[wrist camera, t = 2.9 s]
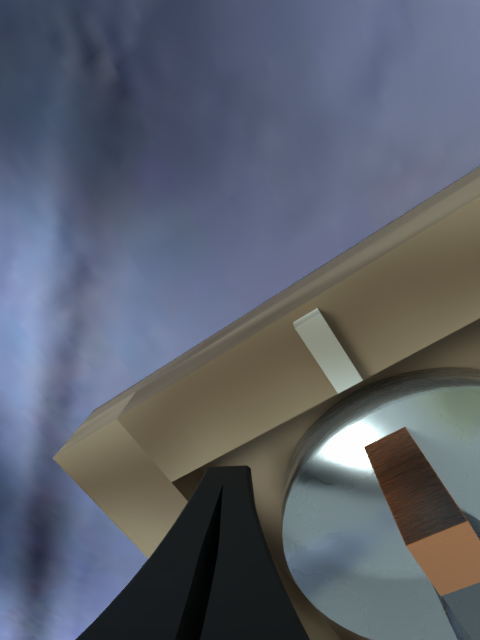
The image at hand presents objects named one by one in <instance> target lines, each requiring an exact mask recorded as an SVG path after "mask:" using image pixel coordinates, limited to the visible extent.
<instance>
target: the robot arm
mask: <svg viewBox="0 0 480 640" xmlns="http://www.w3.org/2000/svg"><path fill="white" fill-rule="evenodd" d="M76 640H310V638H309V637H308V635H307V633H306V631H305V629H304V627H303V625H302V623H301V621H300V619H299V617H298V615H297V613H296V611H295V609H294V607H293V605H292V603H291V601H290V598H289V596H288V594H287V592H286V590H285V588H284V585H283V583H282V581H281V578H280V576H279V574H278V571H277V569H276V566H275V564H274V561H273V559H272V556H271V554H270V551H269V548H268V545H267V543H266V540H265V537H264V534H263V531H262V528H261V525H260V521H259V518H258V514H257V511H256V507H255V499H254V491H253V482H252V474H251V468H250V467H248V466H247V465H243V466H220V467H209V468H208V469H207V470H206V471H205V473H204V475H203V477H202V479H201V480H200V482H199V484H198V486H197V487H196V489H195V491H194V493H193V494H192V496H191V498H190V499H189V501H188V503H187V504H186V506H185V507H184V509H183V510H182V512H181V513H180V515H179V517H178V518H177V520H176V521H175V523H174V524H173V526H172V527H171V529H170V530H169V531H168V533H167V534H166V536H165V537H164V538H163V540H162V541H161V543H160V544H159V545H158V547H157V548H156V550H155V551H154V552H153V554H152V555H151V556H150V558H149V559H148V560H147V561H146V563H145V564H144V565H143V566H142V568H141V569H140V570H139V571H138V573H137V574H136V575H135V576H134V577H133V579H132V580H131V581H130V582H129V583H128V585H127V586H126V587H125V588H124V589H123V590H122V591H121V593H120V594H119V595H118V596H117V597H116V598H115V599H114V600H113V601H112V603H111V604H110V605H109V606H108V607H107V608H106V609H105V610H104V611H103V612H102V613H101V615H100V616H99V617H98V618H97V619H96V620H95V621H94V622H93V623H92V624H91V625H90V626H89V627H88V628H87V629H86V630H85V631H84V632H83V633H82V634H81V635H80V636H79V637H78V638H77V639H76Z"/></svg>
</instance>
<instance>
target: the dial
mask: <svg viewBox="0 0 480 640" xmlns="http://www.w3.org/2000/svg"><path fill="white" fill-rule="evenodd" d="M280 506H281V523H282V539H283V547H284V554H285V558H286V561H287V564H288V567H289V570H290V572H291V574H292V576H293V578H294V580H295V582H296V584H297V585H298V587H299V588H300V589H301V591H302V592H303V594H304V595H305V596H306V597H307V599H308V600H309V601H310V602H311V603H312V604H313V605H314V606H315V607H316V608H317V609H318V610H320V611H321V612H322V613H323V614H325V615H326V616H327V617H328V618H329V619H331V620H333V621H334V622H336V623H337V624H339V625H341V626H342V627H344V628H346V629H348V630H350V631H352V632H354V633H356V634H358V635H360V636H363V637H366V638H369V639H371V640H480V369H473V368H454V367H442V368H431V369H421V370H416V371H411V372H406V373H402V374H397V375H394V376H391V377H388V378H385V379H382V380H379V381H376V382H374V383H372V384H370V385H367V386H365V387H363V388H361V389H359V390H357V391H355V392H353V393H352V394H350V395H348V396H347V397H345V398H343V399H342V400H340V401H338V402H337V403H336V404H335V405H333V406H332V407H331V408H329V409H328V410H327V411H326V412H324V413H323V414H322V415H321V416H320V417H319V418H318V419H317V420H316V421H315V422H314V423H313V424H312V425H311V426H310V427H309V428H308V430H307V431H306V432H305V433H304V435H303V436H302V437H301V439H300V440H299V441H298V443H297V445H296V447H295V448H294V450H293V452H292V454H291V456H290V458H289V460H288V463H287V466H286V468H285V471H284V475H283V480H282V485H281V498H280Z"/></svg>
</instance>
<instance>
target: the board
mask: <svg viewBox="0 0 480 640" xmlns="http://www.w3.org/2000/svg"><path fill="white" fill-rule="evenodd" d="M442 367H454V368H473V369H480V167H478V168H476V169H475V170H473V171H472V172H470V173H468V174H467V175H465V176H464V177H462V178H461V179H459V180H457V181H456V182H454V183H453V184H451V185H449V186H448V187H446V188H445V189H443V190H442V191H440V192H438V193H437V194H435V195H434V196H432V197H431V198H429V199H427V200H426V201H424V202H423V203H421V204H419V205H418V206H416V207H415V208H413V209H412V210H410V211H408V212H407V213H405V214H404V215H402V216H400V217H399V218H397V219H396V220H394V221H393V222H391V223H389V224H388V225H386V226H385V227H383V228H381V229H380V230H378V231H377V232H375V233H374V234H372V235H370V236H369V237H367V238H366V239H364V240H363V241H361V242H359V243H358V244H356V245H355V246H353V247H351V248H350V249H348V250H347V251H345V252H344V253H342V254H340V255H339V256H337V257H336V258H334V259H332V260H331V261H329V262H328V263H326V264H325V265H323V266H321V267H320V268H318V269H317V270H315V271H313V272H312V273H310V274H309V275H307V276H306V277H304V278H302V279H301V280H299V281H298V282H296V283H295V284H293V285H291V286H290V287H288V288H287V289H285V290H283V291H282V292H280V293H279V294H277V295H276V296H274V297H272V298H271V299H269V300H268V301H266V302H264V303H263V304H261V305H260V306H258V307H257V308H255V309H253V310H252V311H250V312H249V313H247V314H245V315H244V316H242V317H241V318H239V319H238V320H236V321H234V322H233V323H231V324H230V325H228V326H227V327H225V328H223V329H222V330H220V331H219V332H217V333H215V334H214V335H212V336H211V337H209V338H208V339H206V340H204V341H203V342H201V343H200V344H198V345H196V346H195V347H193V348H192V349H190V350H189V351H187V352H185V353H184V354H182V355H181V356H179V357H177V358H176V359H174V360H173V361H171V362H170V363H168V364H166V365H165V366H163V367H162V368H160V369H159V370H157V371H155V372H154V373H152V374H151V375H149V376H147V377H146V378H144V379H143V380H141V381H140V382H138V383H136V384H135V385H133V386H132V387H130V388H128V389H127V390H125V391H124V392H122V393H121V394H119V395H117V396H116V397H114V398H113V399H111V400H110V401H108V402H106V403H105V404H103V405H102V406H100V407H98V408H97V409H95V410H94V411H93V412H92V413H91V414H90V415H89V416H88V418H87V419H86V420H85V421H84V422H83V423H82V425H81V426H80V427H79V428H78V429H77V430H76V431H75V433H74V434H73V435H72V436H71V437H70V438H69V440H68V441H67V442H66V443H65V444H64V445H63V447H62V448H61V449H60V450H59V451H58V452H57V453H56V455H55V456H54V457H53V459H54V460H55V461H56V462H57V463H58V464H59V465H60V466H61V467H62V468H63V470H64V471H65V472H66V473H67V474H68V475H69V476H70V477H71V478H72V479H73V480H74V481H75V482H76V483H77V484H78V485H79V486H80V487H81V488H82V490H83V491H84V492H85V493H86V494H87V495H88V496H89V497H90V498H91V499H92V500H93V501H94V502H95V503H96V504H97V505H98V506H99V507H100V508H101V510H102V511H103V512H104V513H105V514H106V515H107V516H108V517H109V518H110V519H111V520H112V521H113V522H114V523H115V524H116V525H117V526H118V527H119V528H120V530H121V531H122V532H123V533H124V534H125V535H126V536H127V537H128V538H129V539H130V540H131V541H132V542H133V543H134V544H135V545H136V546H137V547H138V548H139V550H140V551H141V552H142V553H143V554H144V555H145V556H146V557H147V558H148V559H149V558H150V556H151V555H152V554H153V552H154V551H155V550H156V548H157V547H158V545H159V544H160V543H161V541H162V540H163V538H164V537H165V536H166V534H167V533H168V531H169V530H170V529H171V527H172V526H173V524H174V523H175V521H176V520H177V518H178V517H179V515H180V513H181V512H182V510H183V509H184V507H185V506H186V504H187V503H188V501H189V499H190V498H191V496H192V494H193V493H194V491H195V489H196V487H197V486H198V484H199V482H200V480H201V479H202V477H203V475H204V473H205V471H206V470H207V469H208V468H209V467H220V466H243V465H247V466H248V467H250V468H251V474H252V482H253V491H254V499H255V507H256V511H257V514H258V518H259V521H260V525H261V528H262V531H263V534H264V537H265V540H266V543H267V545H268V548H269V551H270V554H271V556H272V559H273V561H274V564H275V566H276V569H277V571H278V574H279V576H280V578H281V581H282V583H283V585H284V588H285V590H286V592H287V594H288V596H289V598H290V601H291V603H292V605H293V607H294V609H295V611H296V613H297V615H298V617H299V619H300V621H301V623H302V625H303V627H304V629H305V631H306V633H307V635H308V637H309V638H310V640H371V639H369V638H366V637H363V636H360V635H358V634H356V633H354V632H352V631H350V630H348V629H346V628H344V627H342V626H341V625H339V624H337V623H336V622H334V621H333V620H331V619H329V618H328V617H327V616H326V615H325V614H323V613H322V612H321V611H320V610H318V609H317V608H316V607H315V606H314V605H313V604H312V603H311V602H310V601H309V600H308V599H307V597H306V596H305V595H304V594H303V592H302V591H301V589H300V588H299V587H298V585H297V584H296V582H295V580H294V578H293V576H292V574H291V572H290V570H289V567H288V564H287V561H286V558H285V554H284V547H283V539H282V523H281V506H280V498H281V485H282V480H283V475H284V471H285V468H286V466H287V463H288V460H289V458H290V456H291V454H292V452H293V450H294V448H295V447H296V445H297V443H298V441H299V440H300V439H301V437H302V436H303V435H304V433H305V432H306V431H307V430H308V428H309V427H310V426H311V425H312V424H313V423H314V422H315V421H316V420H317V419H318V418H319V417H320V416H321V415H322V414H323V413H324V412H326V411H327V410H328V409H329V408H331V407H332V406H333V405H335V404H336V403H337V402H338V401H340V400H342V399H343V398H345V397H347V396H348V395H350V394H352V393H353V392H355V391H357V390H359V389H361V388H363V387H365V386H367V385H370V384H372V383H374V382H376V381H379V380H382V379H385V378H388V377H391V376H394V375H397V374H402V373H406V372H411V371H416V370H421V369H431V368H442Z"/></svg>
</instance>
